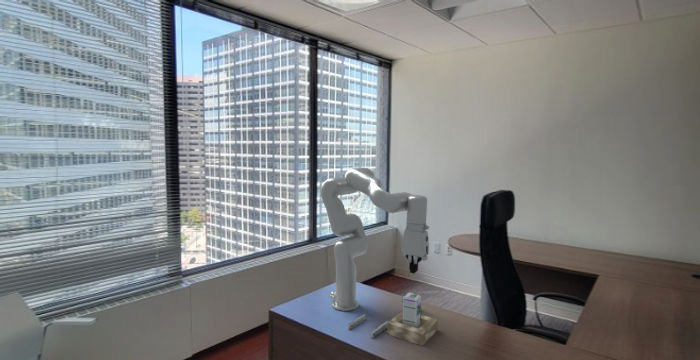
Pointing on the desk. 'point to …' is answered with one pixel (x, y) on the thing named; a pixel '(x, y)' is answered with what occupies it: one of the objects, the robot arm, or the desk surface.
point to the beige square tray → (412, 329)
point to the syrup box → (412, 310)
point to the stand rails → (362, 318)
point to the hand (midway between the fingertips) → (413, 272)
